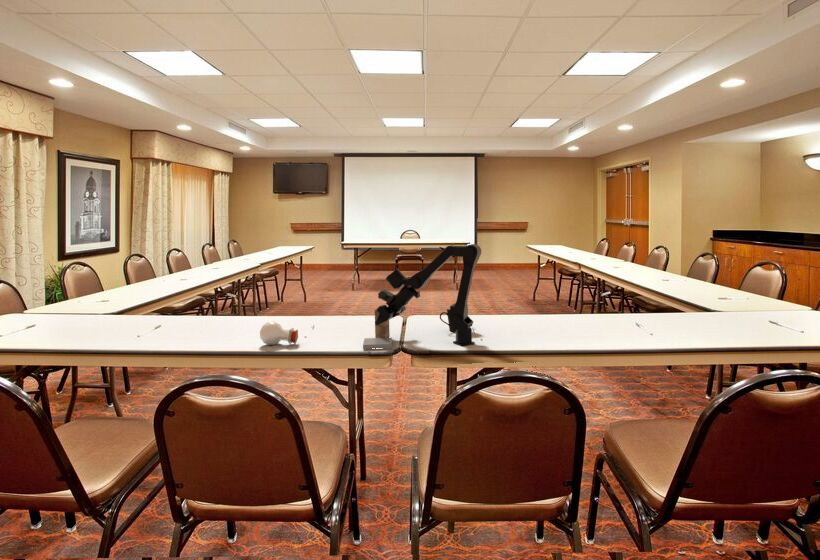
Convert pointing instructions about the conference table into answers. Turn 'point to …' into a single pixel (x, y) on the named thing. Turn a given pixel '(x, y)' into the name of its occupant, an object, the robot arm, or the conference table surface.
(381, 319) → the robot arm
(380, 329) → the walnut block
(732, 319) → the conference table surface
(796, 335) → the conference table surface
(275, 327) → the potion bottle
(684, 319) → the conference table surface
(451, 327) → the coffee mug
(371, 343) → the slate slab
